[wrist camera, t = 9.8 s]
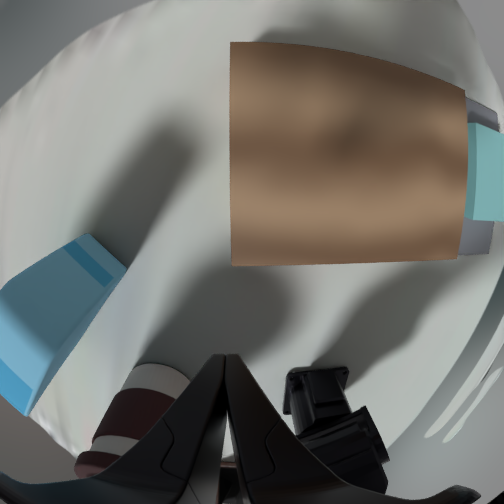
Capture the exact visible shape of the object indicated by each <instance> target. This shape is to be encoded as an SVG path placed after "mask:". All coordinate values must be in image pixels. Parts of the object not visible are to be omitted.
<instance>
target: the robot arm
mask: <svg viewBox="0 0 504 504" xmlns="http://www.w3.org/2000/svg"><path fill="white" fill-rule="evenodd" d="M344 371H345V372H344ZM348 374H349V370H348V368H347V367H340V368H333V369H325V370H316V371H306V372H294V373H289V374H288V375H287V376H286V384H285V393H284V402H283V414H285V415H291V414H292V419H293V424H294V428H295V433H296V435H294V433H293V432H292V431H291V430H290V428H289V427H288V426H287V424H286V423H285V422H284V420H283V419H282V418H281V416H280V415H279V413H278V412H277V411H276V409H275V408H274V406H273V405H272V404H271V402H270V401H269V399H268V398H267V396H266V395H265V393H264V392H263V390H262V389H261V387H260V386H259V384H258V383H257V382H256V380H255V379H254V377H253V375H252V374H251V372H250V371H249V369H248V368H247V366H246V365H245V363H244V362H243V360H242V359H241V357H240V356H239V354H227V355H225V354H213V355H212V356H211V357H210V358H209V360H208V361H207V362H206V363H205V365H204V366H203V367H202V368H201V370H200V371H199V372H198V373H197V375H196V376H195V377H194V378H193V379H192V381H191V382H190V383H189V384H188V386H187V387H186V388H185V389H184V390H183V392H182V393H181V394H180V395H179V397H178V398H177V399H176V400H175V401H174V403H173V404H172V405H171V406H170V407H169V409H168V410H167V411H166V412H165V413H164V414H163V416H162V418H160V419H159V420H158V421H157V423H156V424H155V425H154V426H153V427H152V428H151V429H150V430H149V431H148V432H147V434H146V435H145V436H144V437H143V438H141V439H140V440H139V441H138V442H137V443H136V444H135V445H134V446H133V447H132V448H130V449H129V450H128V451H127V452H126V453H125V454H123V455H122V456H121V457H120V458H119V459H117V460H116V461H115V462H114V463H113V464H111V465H110V466H109V467H108V468H106V469H105V470H104V471H102V472H100V473H98V474H96V475H94V476H91V477H87V478H82V479H76V480H69V481H62V482H53V483H44V484H28V483H22V482H19V481H16V480H14V479H12V478H11V477H9V476H7V475H6V474H4V473H3V472H1V471H0V499H2V500H3V501H4V502H6V503H7V504H215V502H216V495H217V488H218V480H219V473H220V466H221V459H222V451H223V444H224V437H225V430H226V422H227V413H228V421H229V428H230V434H231V440H232V445H233V451H234V457H235V462H236V468H237V473H238V478H239V483H240V488H241V493H242V498H243V503H244V504H472V503H473V502H475V501H476V500H478V499H479V498H480V497H481V495H480V494H479V493H478V492H477V491H475V490H473V489H470V488H467V487H463V486H459V485H454V486H452V487H450V488H447V489H446V490H444V491H442V492H440V493H438V494H436V495H434V496H432V497H429V498H426V499H420V500H409V499H402V498H398V497H393V496H389V495H385V493H386V489H387V485H388V480H387V477H386V475H385V472H384V470H383V467H382V464H384V463H386V462H388V461H390V459H389V456H388V453H387V451H386V448H385V446H384V443H383V441H382V438H381V436H380V434H379V432H378V430H377V428H376V426H375V424H374V422H373V420H372V418H371V416H370V414H369V412H368V410H367V408H366V406H363V407H361V408H360V409H359V410H357V411H355V412H353V413H352V411H351V408H350V406H349V403H348V401H347V398H346V396H345V394H344V388H345V385H346V381H347V378H348ZM291 377H293V378H291ZM487 504H504V491H503V492H502V493H500V494H499V495H498V496H497V497H495V498H494V499H493V500H491V501H490V502H489V503H487Z"/></svg>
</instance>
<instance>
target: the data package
mask: <svg viewBox="0 0 504 504" xmlns="http://www.w3.org/2000/svg"><path fill="white" fill-rule="evenodd" d="M125 273H126V267H125V266H124V265H123V264H121V263H120V262H119V261H118V260H117V259H116V258H115V257H114V256H113V255H112V254H110V253H109V252H108V251H107V250H106V249H105V248H104V247H103V246H102V245H101V244H100V243H99V242H98V241H97V240H96V239H94V238H93V237H92V236H91V235H90V234H84V235H82V236H80V237H79V238H77V239H75V240H73V241H71V242H70V243H68V244H66V245H64V246H63V247H61V248H59V249H58V250H56V251H54V252H53V253H51V254H49V255H48V256H46V257H44V258H43V259H41V260H40V261H38V262H36V263H35V264H33V265H32V266H30V267H29V268H27V269H25V270H24V271H22V272H21V273H19V274H18V275H16V276H15V277H13V278H12V279H11V280H9V281H8V282H7V283H6V284H5V285H4V286H3V288H2V289H1V290H0V394H1V395H2V396H3V397H4V398H5V399H6V400H7V401H8V402H9V403H11V404H12V405H13V406H14V407H15V408H16V409H17V410H18V411H20V412H21V413H22V414H23V415H24V416H28V415H29V414H30V412H31V411H32V409H33V408H34V406H35V405H36V403H37V401H38V400H39V398H40V397H41V395H42V394H43V392H44V391H45V389H46V388H47V386H48V384H49V383H50V382H51V380H52V379H53V377H54V376H55V374H56V373H57V371H58V370H59V368H60V367H61V366H62V364H63V363H64V361H65V360H66V358H67V357H68V356H69V354H70V353H71V352H72V350H73V349H74V347H75V346H76V345H77V343H78V342H79V340H80V339H81V337H82V336H83V334H84V333H85V331H86V329H87V328H88V326H89V325H90V323H91V322H92V320H93V319H94V317H95V316H96V314H97V313H98V311H99V310H100V308H101V307H102V305H103V304H104V303H105V301H106V300H107V298H108V297H109V295H110V294H111V293H112V291H113V290H114V288H115V287H116V285H117V284H118V283H119V281H120V280H121V279H122V277H123V276H124V274H125Z"/></svg>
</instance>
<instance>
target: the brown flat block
mask: <svg viewBox="0 0 504 504" xmlns="http://www.w3.org/2000/svg"><path fill="white" fill-rule="evenodd" d="M467 176H468V124H467V109H466V99H465V90H463V89H461V88H459V87H457V86H455V85H452V84H450V83H448V82H445V81H443V80H440V79H438V78H435V77H433V76H430V75H428V74H425V73H422V72H419V71H416V70H413V69H410V68H407V67H404V66H401V65H398V64H394V63H391V62H388V61H384V60H380V59H376V58H372V57H368V56H364V55H359V54H355V53H350V52H345V51H339V50H334V49H328V48H321V47H314V46H305V45H296V44H284V43H268V42H230V217H231V258H232V266H272V265H313V264H347V263H376V262H402V261H426V260H447V259H457V256H458V251H459V245H460V240H461V233H462V227H463V220H464V212H465V203H466V191H467Z"/></svg>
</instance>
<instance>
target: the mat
mask: <svg viewBox="0 0 504 504" xmlns="http://www.w3.org/2000/svg"><path fill="white" fill-rule="evenodd" d="M465 99H466V109H467V123H478V124H480V125H483V126H485V127H488V128H490V129H492V130H495V131H497V132H498V118H497V113H495V112H494V111H492V110H490V109H488V108H486V107H484V106H482V105H480V104H478V103H476V102H474V101H472V100H470V99H468V98H466V97H465ZM493 226H494V221H483V220H472V219H469V218H466V217H464V220H463V227H462V233H461V240H460V245H459V251H458V255H471V254H489V249H490V244H491V238H492V232H493Z"/></svg>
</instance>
